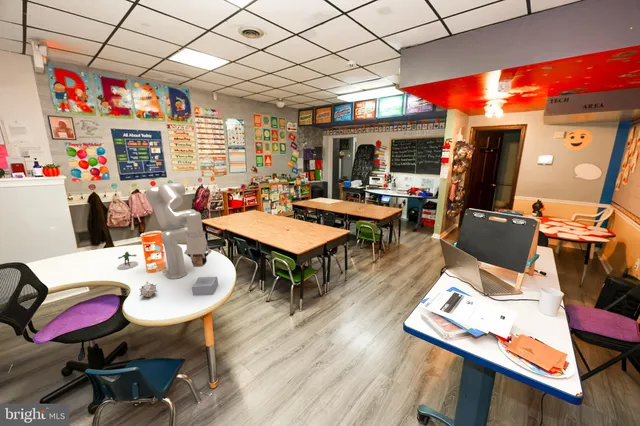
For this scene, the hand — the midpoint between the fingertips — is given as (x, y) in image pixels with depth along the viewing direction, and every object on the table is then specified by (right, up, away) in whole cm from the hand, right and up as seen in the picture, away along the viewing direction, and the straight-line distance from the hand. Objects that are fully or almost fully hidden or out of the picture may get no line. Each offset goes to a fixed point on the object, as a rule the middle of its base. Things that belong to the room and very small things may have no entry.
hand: (199, 263), depth 144 cm
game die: (-28, -19, -1) cm, 34 cm away
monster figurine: (-69, -9, +36) cm, 78 cm away
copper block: (0, -1, 0) cm, 1 cm away
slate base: (+1, -17, +5) cm, 18 cm away
